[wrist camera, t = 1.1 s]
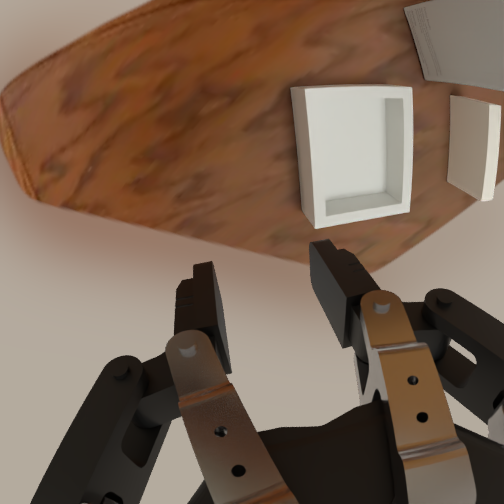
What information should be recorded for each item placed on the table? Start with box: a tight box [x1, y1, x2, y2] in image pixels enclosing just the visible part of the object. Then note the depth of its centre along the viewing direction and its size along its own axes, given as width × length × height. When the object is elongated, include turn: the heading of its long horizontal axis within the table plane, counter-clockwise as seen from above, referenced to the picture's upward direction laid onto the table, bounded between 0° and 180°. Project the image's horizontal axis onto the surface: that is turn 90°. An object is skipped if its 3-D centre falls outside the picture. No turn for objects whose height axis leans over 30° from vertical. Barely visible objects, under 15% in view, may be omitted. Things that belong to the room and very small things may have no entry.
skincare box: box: [404, 0, 504, 91], centre depth 17 cm, size 8×6×15 cm
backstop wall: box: [447, 95, 501, 202], centre depth 26 cm, size 2×10×6 cm, turn 7°
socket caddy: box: [290, 84, 413, 229], centre depth 26 cm, size 10×12×4 cm
